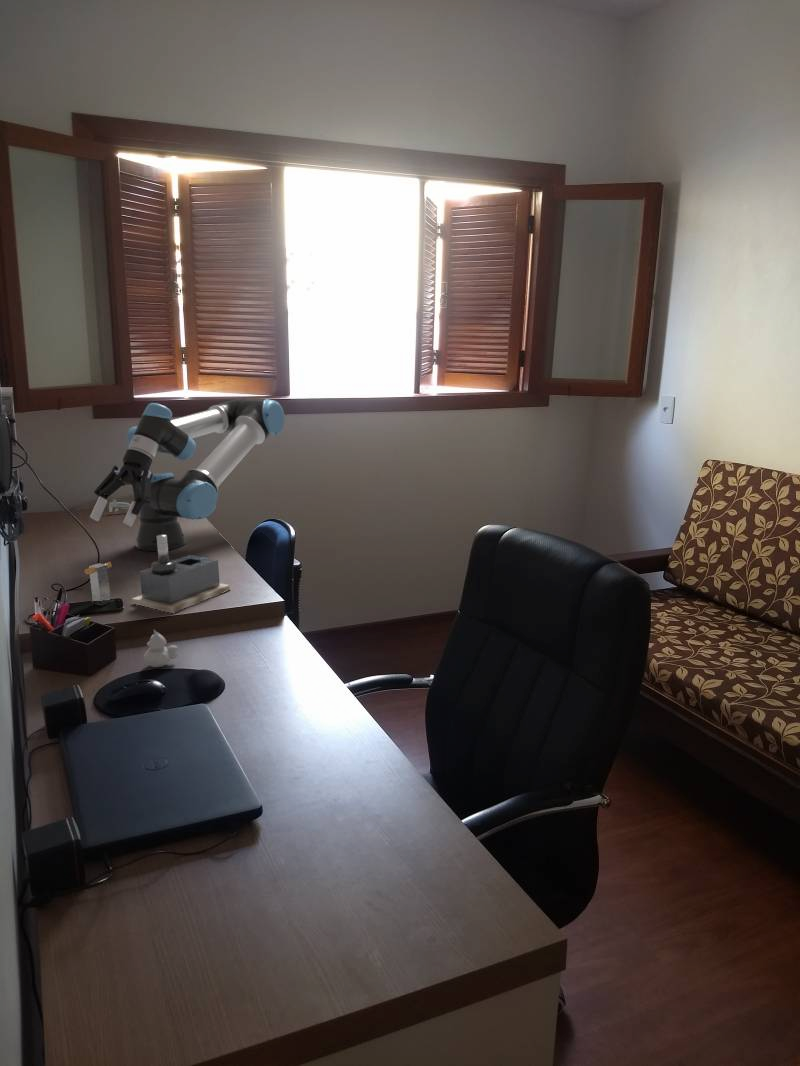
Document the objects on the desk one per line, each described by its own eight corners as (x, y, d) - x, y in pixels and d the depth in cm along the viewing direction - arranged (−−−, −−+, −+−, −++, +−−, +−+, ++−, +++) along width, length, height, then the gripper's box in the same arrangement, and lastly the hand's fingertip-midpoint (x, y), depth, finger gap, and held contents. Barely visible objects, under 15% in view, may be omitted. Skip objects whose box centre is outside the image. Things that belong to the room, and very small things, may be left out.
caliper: (109, 516, 288) (108, 499, 286) (109, 515, 289) (107, 499, 287) (165, 510, 297) (164, 494, 296) (164, 509, 298) (163, 493, 297)
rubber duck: (144, 662, 157) (140, 626, 155) (177, 657, 159) (174, 621, 157) (145, 673, 152) (142, 635, 150) (180, 667, 154) (177, 630, 152)
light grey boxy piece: (109, 598, 196) (105, 561, 193) (117, 600, 194) (113, 562, 192) (86, 606, 190) (81, 568, 187) (94, 608, 188) (90, 570, 186)
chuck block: (191, 579, 206) (187, 521, 202) (219, 585, 201) (215, 526, 197) (142, 598, 191) (136, 536, 187) (170, 604, 186) (165, 541, 182)
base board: (191, 582, 208) (190, 577, 208) (229, 590, 201) (229, 585, 201) (132, 604, 191) (131, 598, 191) (172, 613, 185) (171, 607, 184)
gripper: (101, 445, 221) (70, 511, 215) (162, 450, 208) (132, 521, 202) (119, 457, 227) (90, 522, 221) (180, 463, 215) (151, 532, 208)
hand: (110, 522), depth 211 cm, fingers open, 13 cm apart
